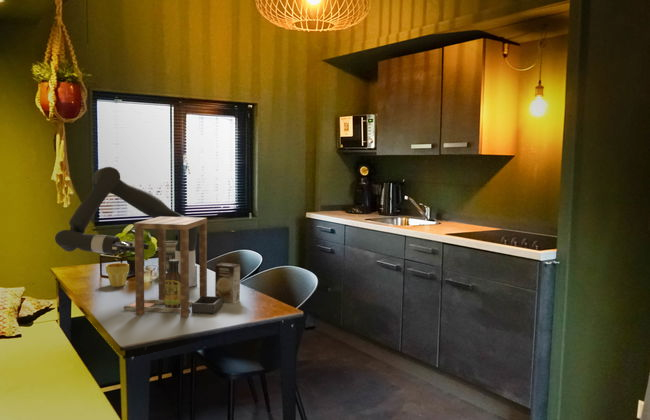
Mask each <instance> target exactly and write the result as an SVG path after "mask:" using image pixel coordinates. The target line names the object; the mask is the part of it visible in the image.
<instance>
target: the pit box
mask: <svg viewBox="0 0 650 420" xmlns="http://www.w3.org/2000/svg"><path fill="white" fill-rule="evenodd" d="M223 305H224V304H223V297H215V295H214V296H210V295H207V296H201V297H200V296H199V297H198V298H197V299H195V300H194V302H193V303H192V306H191V314H196V315H197V314H200V315H215V314H216V313H217V312H218V311H219V310H220V309H222V308H223Z"/></svg>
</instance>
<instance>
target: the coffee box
mask: <svg viewBox="0 0 650 420" xmlns="http://www.w3.org/2000/svg"><path fill="white" fill-rule="evenodd" d="M214 269H215V273H214V275H215V278H214V280H215V285H214V290H215V291H214V294H215V295H214V297H223V303H224V304H230V305H234V304H236V303H238V302H239V301H240V300H241V299H240V295H241V294H240V293H241V290H240V289H241V288H240V287H241V264H239V263H228V262H221V263H217V264H216V265H215V267H214Z"/></svg>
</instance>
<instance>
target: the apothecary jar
mask: <svg viewBox="0 0 650 420" xmlns="http://www.w3.org/2000/svg"><path fill="white" fill-rule="evenodd" d="M177 242H178V240H166V275H167V274H168V272H169V260H171V259H175V245H176V244H177Z"/></svg>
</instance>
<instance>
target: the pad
mask: <svg viewBox="0 0 650 420" xmlns="http://www.w3.org/2000/svg"><path fill="white" fill-rule="evenodd" d="M155 305H157V304H156V303H146V302H144V307H154V306H155ZM128 306H136V301H135V302H133V303H131V304H129V305H128Z"/></svg>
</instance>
